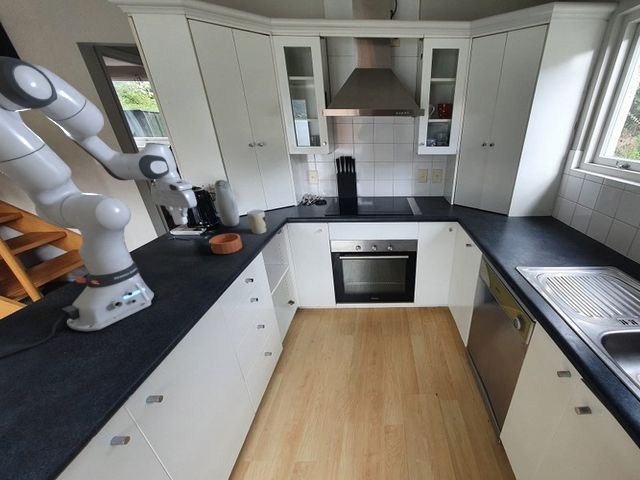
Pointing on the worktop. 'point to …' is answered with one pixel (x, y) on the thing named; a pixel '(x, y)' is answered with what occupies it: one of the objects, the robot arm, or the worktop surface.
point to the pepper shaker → (178, 216)
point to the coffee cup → (257, 221)
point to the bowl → (225, 243)
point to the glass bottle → (226, 204)
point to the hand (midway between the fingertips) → (179, 215)
